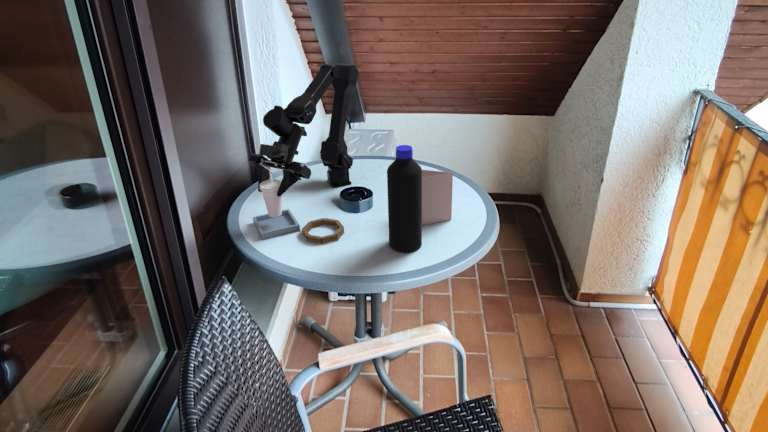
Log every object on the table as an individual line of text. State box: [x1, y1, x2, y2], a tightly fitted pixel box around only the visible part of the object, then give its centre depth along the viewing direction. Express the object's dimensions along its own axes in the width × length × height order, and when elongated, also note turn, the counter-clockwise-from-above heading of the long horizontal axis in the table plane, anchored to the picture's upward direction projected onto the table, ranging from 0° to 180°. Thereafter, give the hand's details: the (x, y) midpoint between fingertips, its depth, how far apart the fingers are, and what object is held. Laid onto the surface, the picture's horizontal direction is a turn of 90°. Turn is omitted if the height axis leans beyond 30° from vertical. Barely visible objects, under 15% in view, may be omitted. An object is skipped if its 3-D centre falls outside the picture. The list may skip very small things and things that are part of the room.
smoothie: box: [259, 168, 283, 217], centre depth 152 cm, size 6×6×14 cm
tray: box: [252, 208, 301, 241], centre depth 157 cm, size 11×11×2 cm
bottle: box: [386, 144, 423, 254], centre depth 140 cm, size 9×9×28 cm
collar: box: [301, 217, 345, 245], centre depth 153 cm, size 11×11×2 cm
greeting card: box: [422, 169, 454, 226], centre depth 154 cm, size 11×7×15 cm, turn 72°
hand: (268, 193), depth 151 cm, fingers closed on smoothie, 6 cm apart
